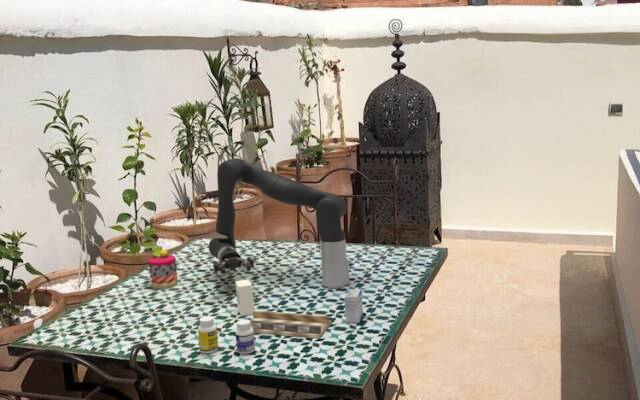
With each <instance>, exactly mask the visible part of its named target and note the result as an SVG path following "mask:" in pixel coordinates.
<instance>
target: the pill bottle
mask: <svg viewBox="0 0 640 400" xmlns="http://www.w3.org/2000/svg"><path fill="white" fill-rule="evenodd" d="M250 320H251V319H246V318H245V319H239V320H238V321H237V322H236V329H235V334H234V335H235V341H236V342H235V343H236V344H235V346H236V352H237V353H239V354H241V355H243V354H244V355H247V354H251V353H253V352H255V350H256V344H255V333H254V331H253V328H252V327H250V326H251V322H250Z"/></svg>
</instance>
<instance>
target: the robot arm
mask: <svg viewBox="0 0 640 400" xmlns="http://www.w3.org/2000/svg"><path fill="white" fill-rule="evenodd" d="M216 175H217V176H216V177H217V200H218V202H217V216H216V222H215V231H216V233H217V234H219V235H223V236H225V238H224V237H223V238H222V237H214V238H212V239H211V240H210V241H209V244H208V251H209V253H210V255H211V256H213V257H214V258H216V259H218V261H216V260H212V264H213V266H212V268H213V271H214V273H218V272H219V273H220V274H222V275H226V272H233V271H236V270H237V269H239V270H244V269H246V271H247V272H250V271H251V270H252V268H253V269H254V268H255V264H254V263H255V261H254V259H253V258H252V257H251V256H247V257H246V259H244V258H241V256H240V254H239V252H238V251H237V247H236V240H235V223H236V208H235V204H234V197H233V196H234V189H235V185H236V184H237V183H239V182H240V183H245V184H249V185H251V186H254V187H256V188H258V189H259V190H260V191H261V192H262V193H263V194H264V195H266V197H269V198H270V199H273V200H275V201H278V202H280V203H283V204H286V205H287V204H288V205H293V206H302V207H308V208H312V209H314V210H315V217H316V218H315V220H316V228H317V234H318V235H319V240H320V241H319V242H320V256H321V276H322V286H324V287H325V288H329V289H330V288H331V289H338V288H343V287H346V286H348V285H351V282H350V267H349V263H350V262H349V259H348V258H347V244H346V242H347V241H346V231H345V230H343V229H342V224H341V218H342V217H343V216H344V215H345V214H346V213H347V211H348V204H347V202H346V200H345V199H344V198H343V197H342V196H340V194H339V195H338V194H336V193H331V192H328V191H323V190H320V189H317V188H314V187H311V186H309V185H306V184H304V183H301V182H298V181H296V180H294V179H292V178H288V177H286V176H284V175H281V174H277V173H275V172H271V171H269V170H266V169H263V168H260V167H258V166H256V165H253V164H251V163H249V162H247V161H246V160H244V159H242V158H238V157H237V158H236V157H234V158H230V159H227V160H224V161H223V162H220V164H219V165H218V167H217V173H216Z"/></svg>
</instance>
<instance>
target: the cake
mask: <svg viewBox="0 0 640 400" xmlns="http://www.w3.org/2000/svg"><path fill="white" fill-rule="evenodd" d="M151 252H152V253H151V254H152V257H150V258H149V259H148V260H147V263H148V267H149V271H148V273H149V276H148V277H149V278H151V279H150V284H151V288H152V289H155V290H166V289H171V288H174V287H176V286H177V285H178V276H179V274H178V271H177V263H176V256H175V255H172V254H169V252H168V251H167V250H166V249H163V247H162V246H161V245H159V246H158V247H156V246H153V247H151Z"/></svg>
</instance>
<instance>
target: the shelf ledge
mask: <svg viewBox="0 0 640 400" xmlns="http://www.w3.org/2000/svg"><path fill="white" fill-rule="evenodd" d="M252 316H253V317H252V318H251V319H249V320H250V322H251V326H250V327H252V328H253V331H254V334H263V335H264V334H266V335H273V336H287V337H298V338H306V339H307V338H310V339H319V338H320V337H321V336H322V335H323V334H324V333H325V332H326V330H328V328H329V327H330V326H331V325H332V320H331V319H330V318H331V317H330V315H320V314H319V315H318V314H317V315H315V314H308V313H307V314H304V313H293V312H292V313H291V312H281V311H280V312H278V311H263V310H254V311H253V314H252Z"/></svg>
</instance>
